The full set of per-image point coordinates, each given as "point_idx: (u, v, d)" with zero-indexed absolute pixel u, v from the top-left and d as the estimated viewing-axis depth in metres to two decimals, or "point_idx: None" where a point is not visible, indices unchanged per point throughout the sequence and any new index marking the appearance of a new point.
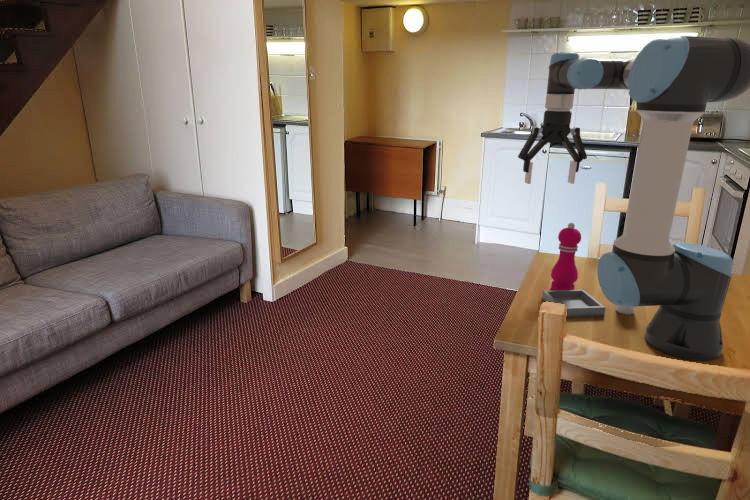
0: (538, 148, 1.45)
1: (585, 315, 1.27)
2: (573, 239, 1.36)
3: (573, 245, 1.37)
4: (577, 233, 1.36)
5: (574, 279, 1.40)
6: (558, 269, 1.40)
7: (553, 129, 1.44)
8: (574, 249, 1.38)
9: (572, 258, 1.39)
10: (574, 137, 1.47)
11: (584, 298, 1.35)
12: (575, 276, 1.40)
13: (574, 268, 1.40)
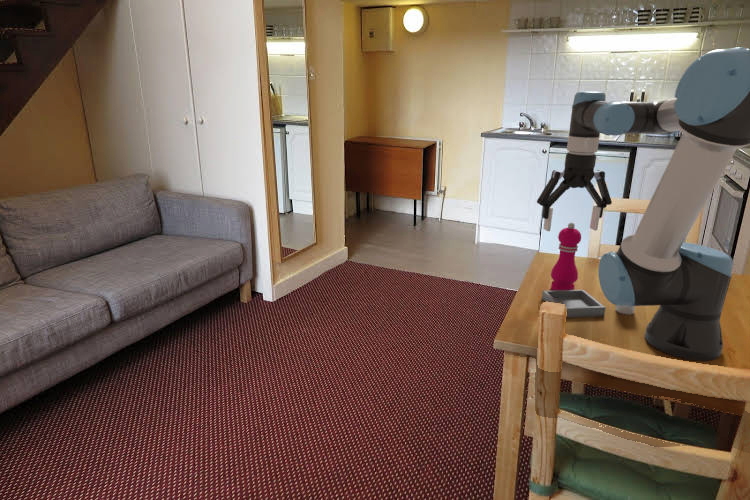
0: (559, 193, 1.33)
1: (585, 315, 1.27)
2: (573, 239, 1.36)
3: (573, 245, 1.37)
4: (577, 233, 1.36)
5: (574, 279, 1.40)
6: (558, 269, 1.40)
7: (576, 173, 1.32)
8: (574, 249, 1.38)
9: (572, 258, 1.39)
10: (598, 181, 1.35)
11: (584, 298, 1.35)
12: (575, 276, 1.40)
13: (574, 268, 1.40)
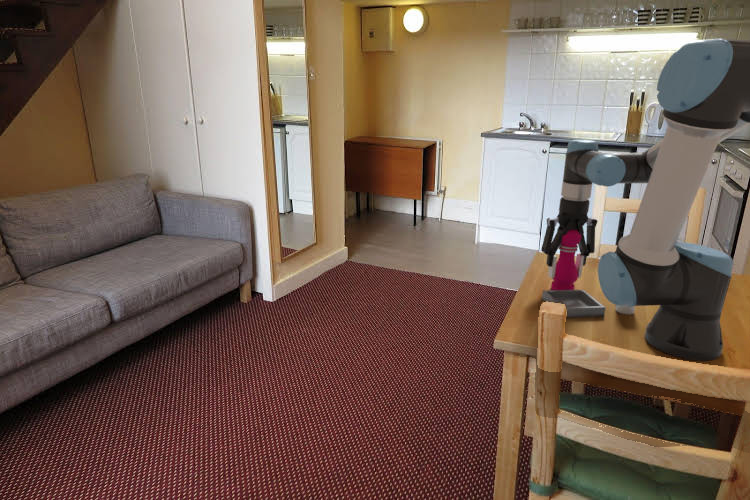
0: (559, 240, 1.38)
1: (585, 315, 1.27)
2: (573, 239, 1.36)
3: (573, 245, 1.37)
4: (577, 233, 1.36)
5: (574, 279, 1.40)
6: (558, 269, 1.40)
7: (569, 216, 1.36)
8: (574, 249, 1.38)
9: (572, 258, 1.39)
10: (588, 228, 1.39)
11: (584, 298, 1.35)
12: (575, 276, 1.40)
13: (574, 268, 1.40)
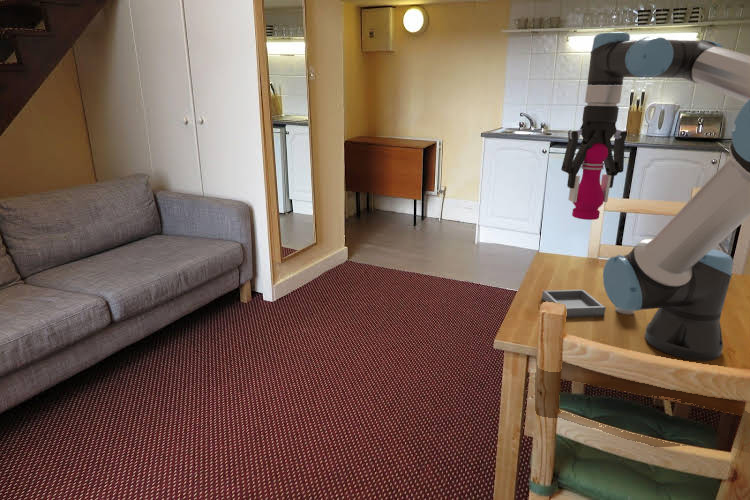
0: (582, 156, 1.18)
1: (585, 315, 1.27)
2: (599, 154, 1.17)
3: (599, 161, 1.18)
4: (603, 146, 1.17)
5: (600, 202, 1.20)
6: (581, 191, 1.21)
7: (595, 126, 1.16)
8: (600, 166, 1.18)
9: (597, 177, 1.20)
10: (616, 142, 1.19)
11: (584, 298, 1.35)
12: (601, 199, 1.20)
13: (600, 189, 1.20)
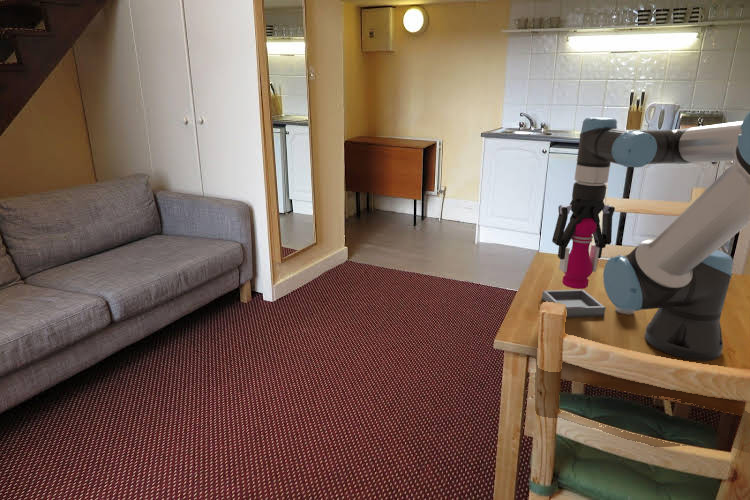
0: (572, 230, 1.24)
1: (585, 315, 1.27)
2: (588, 229, 1.22)
3: (588, 235, 1.24)
4: (592, 222, 1.23)
5: (588, 273, 1.26)
6: (570, 262, 1.27)
7: (584, 202, 1.22)
8: (589, 240, 1.24)
9: (586, 250, 1.25)
10: (605, 216, 1.25)
11: (584, 298, 1.35)
12: (589, 270, 1.26)
13: (588, 261, 1.26)
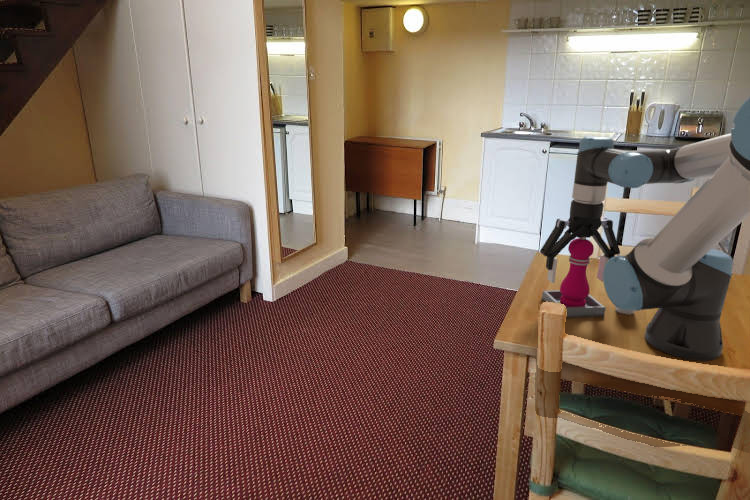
0: (564, 243, 1.25)
1: (585, 315, 1.27)
2: (585, 252, 1.24)
3: (585, 258, 1.25)
4: (589, 245, 1.24)
5: (585, 294, 1.28)
6: (568, 283, 1.28)
7: (582, 222, 1.24)
8: (586, 262, 1.26)
9: (583, 272, 1.27)
10: (605, 230, 1.26)
11: None
12: (587, 291, 1.28)
13: (586, 282, 1.28)
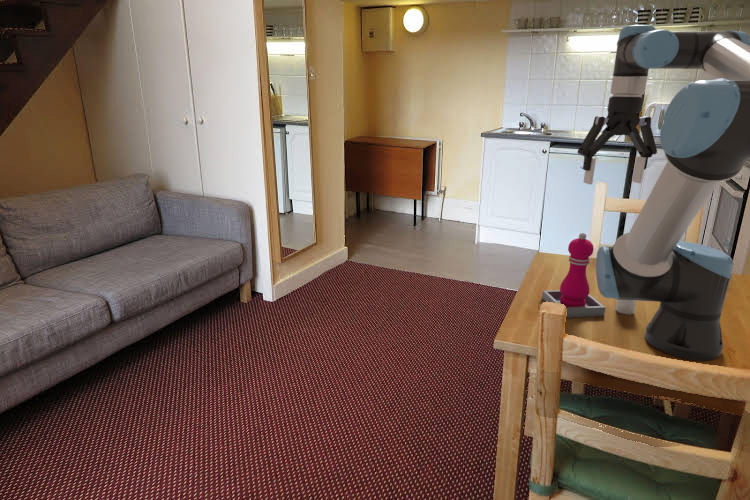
0: (603, 141, 1.22)
1: (585, 315, 1.27)
2: (585, 252, 1.24)
3: (585, 257, 1.25)
4: (589, 245, 1.24)
5: (585, 294, 1.28)
6: (568, 283, 1.28)
7: (621, 119, 1.21)
8: (586, 262, 1.26)
9: (583, 272, 1.27)
10: (643, 128, 1.23)
11: None
12: (587, 291, 1.28)
13: (585, 282, 1.28)
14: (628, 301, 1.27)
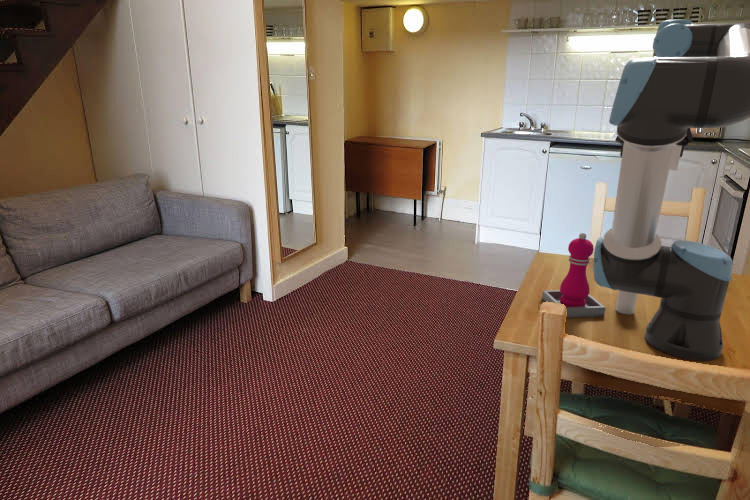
0: None
1: (585, 315, 1.27)
2: (585, 252, 1.24)
3: (585, 257, 1.25)
4: (589, 245, 1.24)
5: (585, 294, 1.28)
6: (568, 283, 1.28)
7: None
8: (586, 262, 1.26)
9: (583, 271, 1.27)
10: None
11: None
12: (587, 291, 1.28)
13: (585, 282, 1.28)
14: (628, 301, 1.27)
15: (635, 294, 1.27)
